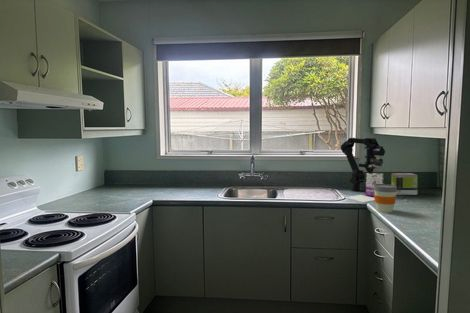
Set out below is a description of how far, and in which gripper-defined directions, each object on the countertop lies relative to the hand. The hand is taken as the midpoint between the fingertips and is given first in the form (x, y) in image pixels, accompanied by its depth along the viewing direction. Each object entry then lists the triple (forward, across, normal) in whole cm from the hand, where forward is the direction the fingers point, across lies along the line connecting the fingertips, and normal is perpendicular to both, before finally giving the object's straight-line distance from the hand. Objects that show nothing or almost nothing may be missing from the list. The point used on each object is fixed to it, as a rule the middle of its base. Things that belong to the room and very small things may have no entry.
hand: (370, 176), depth 244 cm
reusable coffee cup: (+13, -34, -37) cm, 52 cm away
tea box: (+13, +21, -13) cm, 28 cm away
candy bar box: (+13, -7, -9) cm, 17 cm away
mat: (+13, -19, -9) cm, 25 cm away
